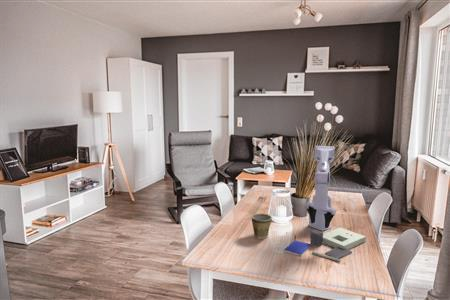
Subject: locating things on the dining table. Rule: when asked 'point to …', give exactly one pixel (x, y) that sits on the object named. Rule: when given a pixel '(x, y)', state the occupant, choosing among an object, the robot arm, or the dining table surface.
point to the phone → (338, 252)
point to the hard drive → (297, 248)
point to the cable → (326, 256)
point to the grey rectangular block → (316, 238)
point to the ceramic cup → (261, 225)
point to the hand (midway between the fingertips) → (319, 225)
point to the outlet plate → (343, 238)
